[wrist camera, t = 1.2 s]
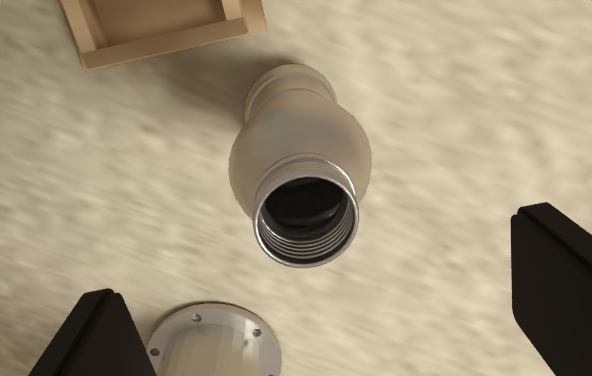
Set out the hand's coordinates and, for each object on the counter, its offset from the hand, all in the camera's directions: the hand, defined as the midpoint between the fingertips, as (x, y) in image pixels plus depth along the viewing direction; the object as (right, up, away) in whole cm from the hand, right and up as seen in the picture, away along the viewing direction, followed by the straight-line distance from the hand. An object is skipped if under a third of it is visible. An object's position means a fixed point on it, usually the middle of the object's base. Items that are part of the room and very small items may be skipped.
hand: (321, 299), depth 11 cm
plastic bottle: (-1, +9, +23) cm, 25 cm away
